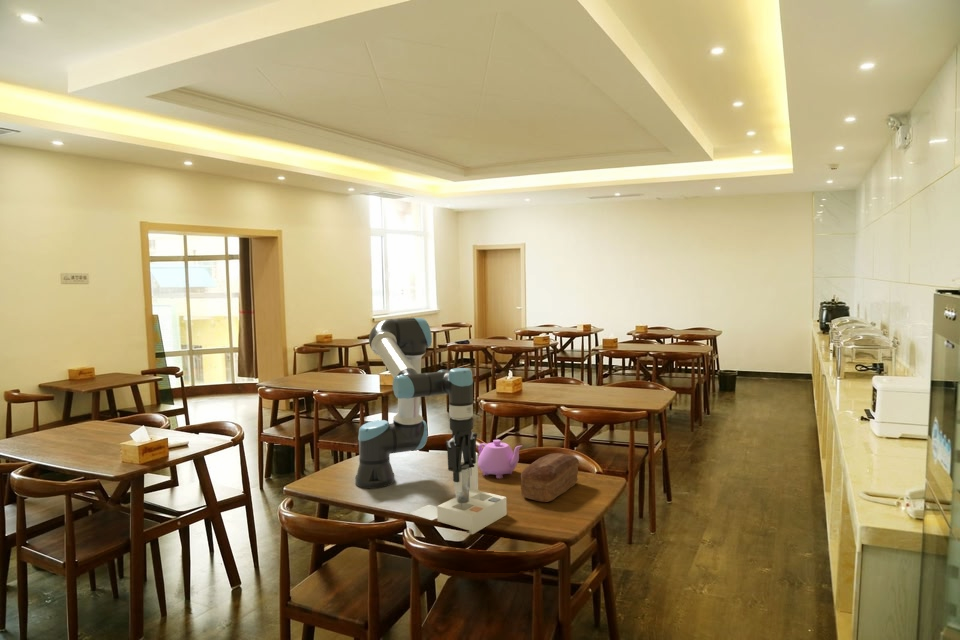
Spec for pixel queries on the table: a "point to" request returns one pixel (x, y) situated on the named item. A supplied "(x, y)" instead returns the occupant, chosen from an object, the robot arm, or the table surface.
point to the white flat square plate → (426, 512)
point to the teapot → (497, 458)
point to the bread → (549, 477)
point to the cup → (472, 474)
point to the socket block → (473, 511)
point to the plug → (464, 484)
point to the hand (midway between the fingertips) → (462, 489)
